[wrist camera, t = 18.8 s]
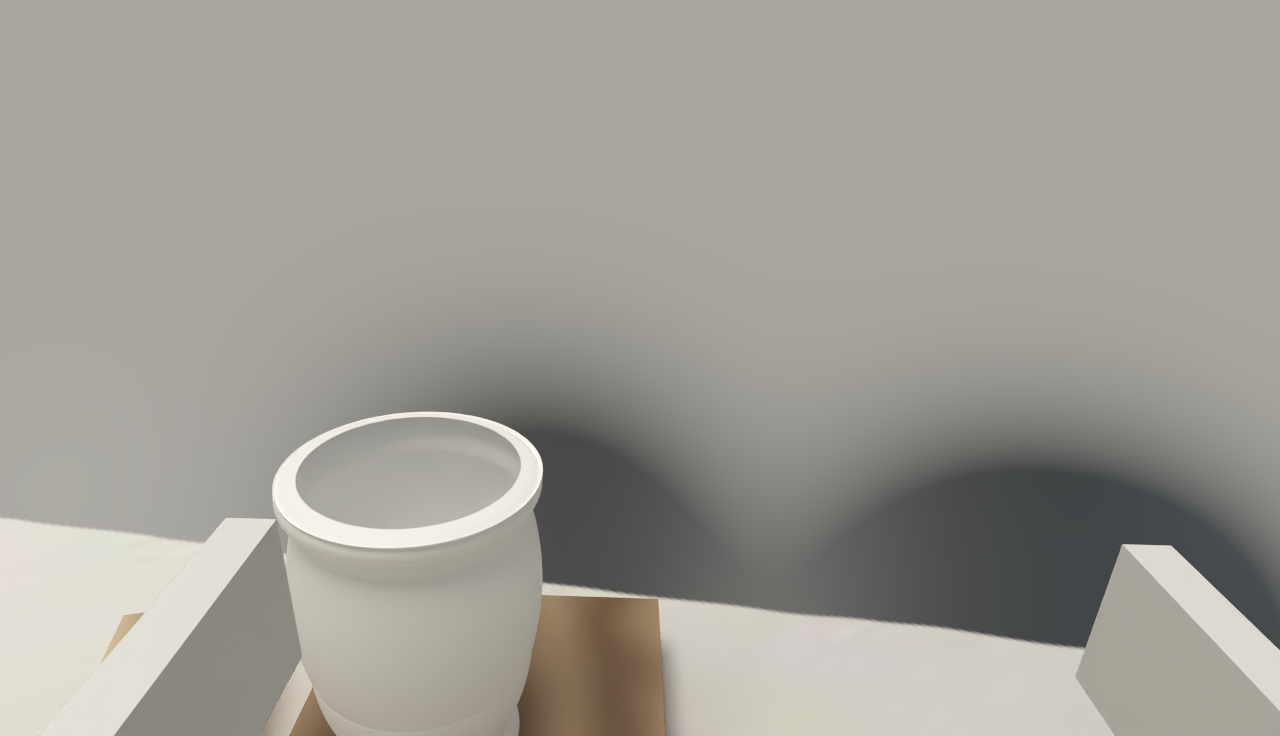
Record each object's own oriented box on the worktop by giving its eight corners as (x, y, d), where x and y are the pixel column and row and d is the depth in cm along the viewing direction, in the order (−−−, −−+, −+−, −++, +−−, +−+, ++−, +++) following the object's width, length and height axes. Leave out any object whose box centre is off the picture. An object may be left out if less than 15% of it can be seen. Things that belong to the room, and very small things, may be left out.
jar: (581, 705, 39) (590, 448, 33) (445, 885, 30) (424, 582, 24) (421, 628, 43) (403, 389, 37) (262, 767, 34) (206, 485, 28)
